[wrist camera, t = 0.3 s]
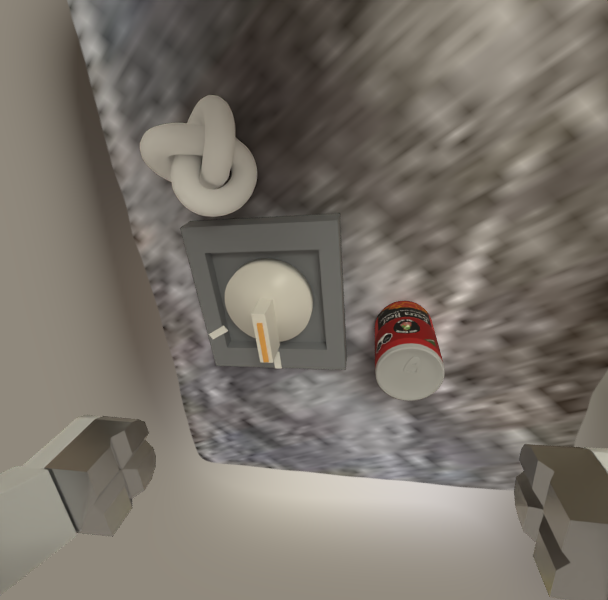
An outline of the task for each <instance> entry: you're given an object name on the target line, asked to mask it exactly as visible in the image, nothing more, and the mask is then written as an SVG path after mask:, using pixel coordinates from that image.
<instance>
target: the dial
mask: <svg viewBox="0 0 608 600" xmlns="http://www.w3.org/2000/svg"><path fill="white" fill-rule="evenodd" d="M313 304H314V299H313V293H312V289H311V287H310V285H309V283H308V281H307V280H306V278H305V277H304V276H303V274H302V273H301V272H300V271H298V270H297V269H296V268H295V267H293V266H292V265H290V264H288V263H286V262H283V261H281V260H277V259H271V258H261V259H255V260H252V261H249V262H247V263H246V264H244V265H243V266H241V267H240V268H239V269H238V270H237V271H236V272H235V274H234V275H233V276H232V277H231V279H230V280H229V282H228V284H227V286H226V290H225V306H226V309H227V312H228V314H229V316H230V318H231V319H232V321H233V322H234V323H235V325H236V326H237V327H238V328H239V329H241V330H242V331H243V332H244V333H246V334H247V335H249V336H251V337H253V338H256V343H257V348H258V353H259V358H260V362H265V363H273V362H274V359H275V357H276V354H277V352H278V349H279V346H280V342H281V341H286V340H289V339H292V338H294V337H295V336H297V335H298V334H300V333H301V332H302V331H303V330H304V329H305V327H306V326H307V324H308V322H309V320H310V316H311V313H312V310H313Z"/></svg>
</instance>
